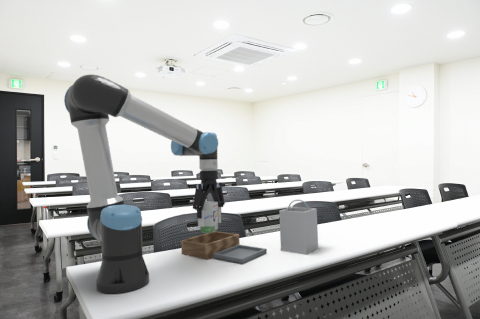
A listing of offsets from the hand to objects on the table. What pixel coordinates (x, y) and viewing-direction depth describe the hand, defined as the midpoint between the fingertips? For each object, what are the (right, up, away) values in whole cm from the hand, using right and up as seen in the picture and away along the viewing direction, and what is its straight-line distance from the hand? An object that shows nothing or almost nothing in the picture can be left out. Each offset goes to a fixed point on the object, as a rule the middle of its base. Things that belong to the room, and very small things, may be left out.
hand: (209, 224), depth 133 cm
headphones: (+37, -10, -2) cm, 38 cm away
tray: (+13, -10, -9) cm, 19 cm away
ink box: (0, -3, 0) cm, 3 cm away
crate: (+1, -11, 0) cm, 11 cm away
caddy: (+37, -10, -2) cm, 38 cm away
